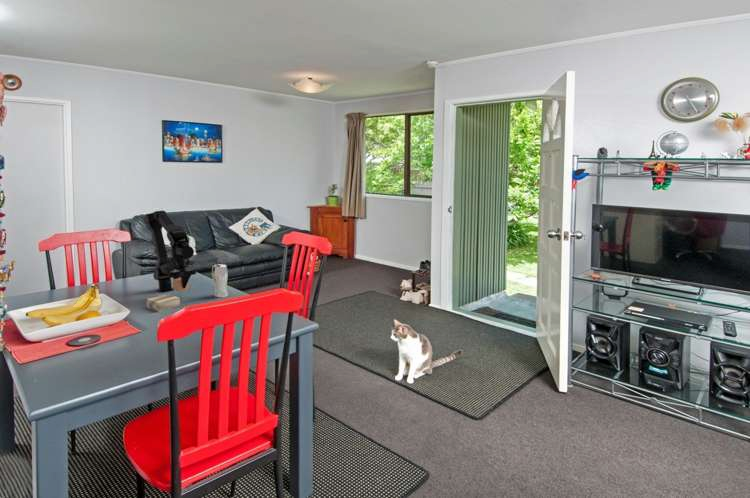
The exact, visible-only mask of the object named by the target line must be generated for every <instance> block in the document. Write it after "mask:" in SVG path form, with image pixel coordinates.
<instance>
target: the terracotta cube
mask: <svg viewBox="0 0 750 498" xmlns="http://www.w3.org/2000/svg"><path fill="white" fill-rule="evenodd" d="M189 285H190V283H189V282H188V283H187V285H186V288H183V287H182V282H181V278H177V279H173V278H172V288H173V290H172V291H176V292H182V291H186V290H190V287H189Z"/></svg>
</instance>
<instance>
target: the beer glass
mask: <svg viewBox="0 0 750 498" xmlns="http://www.w3.org/2000/svg"><path fill="white" fill-rule="evenodd" d="M211 276H212V280H213V284H214V289H215V290H214V297H215V298H220V297H221V298H226V297H228V296H229V294H228V289H227V288H228V287H227V286H228V276H229V274H228V267H227V264H225V263H224V264H222V263H221V264H219V263H218V264H214V265H212V266H211Z"/></svg>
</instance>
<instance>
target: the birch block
mask: <svg viewBox="0 0 750 498" xmlns="http://www.w3.org/2000/svg"><path fill="white" fill-rule="evenodd" d="M145 300H146V307H147V309H150V310H153V311H156V312H158V313H159V312H161V313H162V312H164V311H167V310H171V309H175V308H179V307H181V299H180V297H178V296H176V295H173V294H169V293H165V294H162V295H157V296H153V297H149V298H146V299H145Z"/></svg>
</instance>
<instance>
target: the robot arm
mask: <svg viewBox="0 0 750 498" xmlns="http://www.w3.org/2000/svg"><path fill="white" fill-rule="evenodd" d="M143 222H144V223H145V226H146V229H148V230H149V232H150V233H151V237H152V239H153V244H154V250H155V253H156V260H157V261H156V263H155V267H154V268H155V269H154V272H153V275H152V276H153V279H154V280H155V281H157V282H158V288H156V289H155V291H158V292H160V293H166V292H170V291H174V290H173V285H172V280H173V279H177V278H181V282H182V287H183V288H186V285H187V283H188V284H189V280H190V278H191V277H192V275H193V276H194V275H197V269H196V268H193V267H188V265H187V264H186V260H188V259H190V258H192V257H193V256H194V254H195V250H194V248H193V246H190V238H189V235H188V234H187V233H186V230H185V229H184V228H183V227H181V226H179V225H176V224H175V222H174V221H173V219H171V218H170V217H169V216H168V214H167V211H166V210H156V211H154V212H151V213H146V215H145V216H144V217H143ZM163 229H164V230H165V231H166V237H167V240H168V242H169V245H170V248H171V249H170V250H171V257H170V258H169V257H168V253H167V248H166V244H165V243H166V242H165V239H164V234H163Z"/></svg>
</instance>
